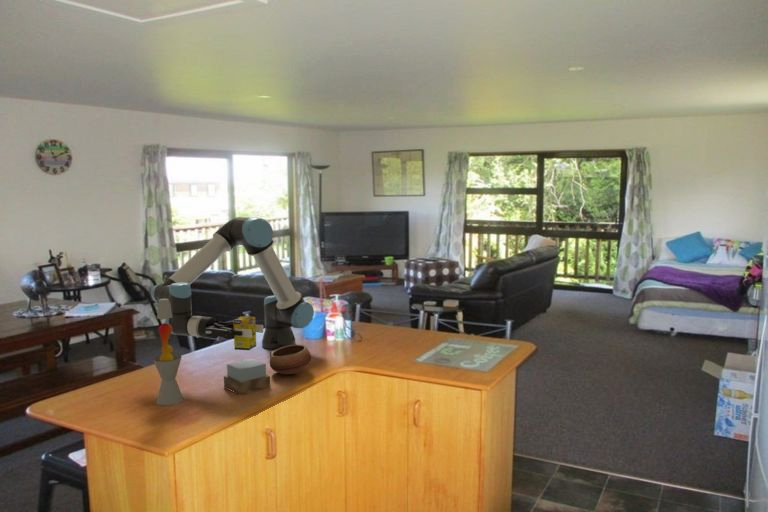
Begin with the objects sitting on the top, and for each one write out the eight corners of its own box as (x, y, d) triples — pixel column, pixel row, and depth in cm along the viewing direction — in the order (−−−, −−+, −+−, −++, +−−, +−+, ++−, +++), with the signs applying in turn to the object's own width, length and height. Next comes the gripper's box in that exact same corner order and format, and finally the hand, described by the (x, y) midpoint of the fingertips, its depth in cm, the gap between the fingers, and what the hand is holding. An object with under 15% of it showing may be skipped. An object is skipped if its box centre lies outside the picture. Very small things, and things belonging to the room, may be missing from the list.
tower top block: (252, 369, 219) (251, 358, 218) (266, 376, 211) (265, 363, 211) (227, 375, 212) (226, 363, 212) (240, 382, 205) (240, 369, 204)
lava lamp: (183, 403, 197) (177, 300, 193) (154, 406, 194) (147, 302, 190) (184, 394, 205) (178, 295, 201) (157, 397, 203) (150, 297, 199)
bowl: (266, 370, 231) (265, 345, 230) (305, 364, 238) (304, 340, 236) (275, 381, 217) (274, 355, 216) (316, 375, 223) (315, 350, 222)
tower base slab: (254, 380, 221) (253, 368, 220) (270, 388, 212) (269, 376, 211) (224, 388, 213) (223, 376, 212) (239, 396, 204) (239, 383, 203)
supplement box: (249, 350, 207) (248, 320, 206) (234, 350, 208) (232, 319, 207) (256, 346, 213) (255, 316, 211) (241, 345, 214) (240, 316, 213)
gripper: (220, 330, 226) (272, 335, 217) (186, 343, 207) (241, 348, 199) (219, 311, 225) (271, 315, 216) (185, 322, 207) (240, 326, 198)
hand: (257, 331), depth 208 cm, fingers closed on supplement box, 6 cm apart
